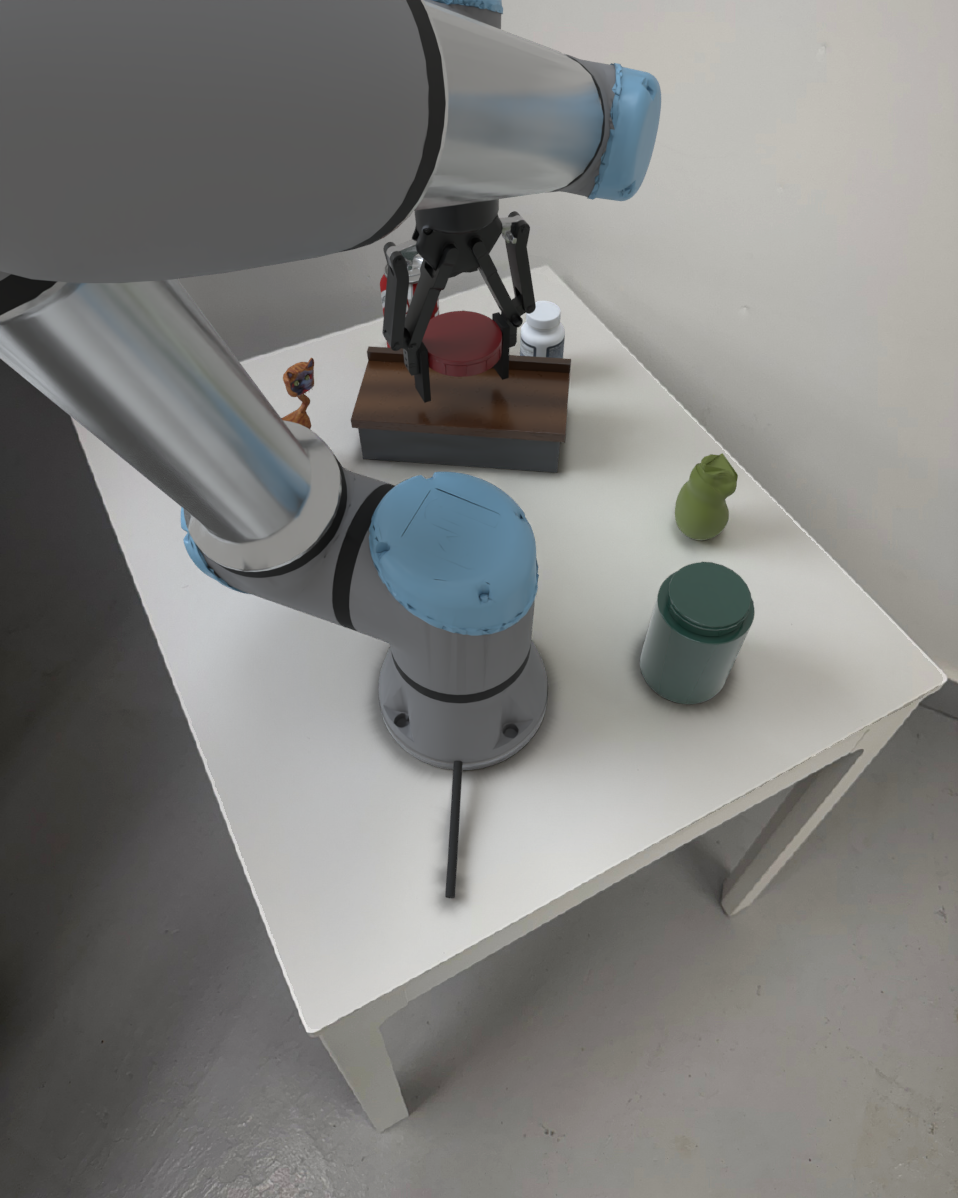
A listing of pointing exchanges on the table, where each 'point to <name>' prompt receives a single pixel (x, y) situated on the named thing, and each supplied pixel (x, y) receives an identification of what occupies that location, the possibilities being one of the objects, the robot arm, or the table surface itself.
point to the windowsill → (464, 414)
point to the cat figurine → (299, 390)
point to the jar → (696, 632)
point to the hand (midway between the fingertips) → (462, 382)
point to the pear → (706, 498)
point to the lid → (462, 343)
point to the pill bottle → (543, 332)
